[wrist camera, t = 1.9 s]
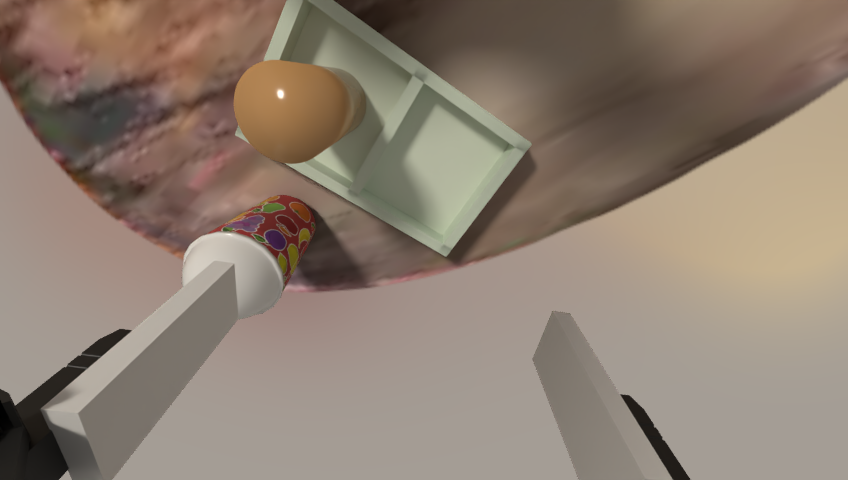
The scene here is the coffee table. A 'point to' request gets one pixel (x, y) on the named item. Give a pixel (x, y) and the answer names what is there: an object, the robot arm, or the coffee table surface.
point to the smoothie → (256, 250)
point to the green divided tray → (399, 130)
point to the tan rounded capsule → (297, 108)
